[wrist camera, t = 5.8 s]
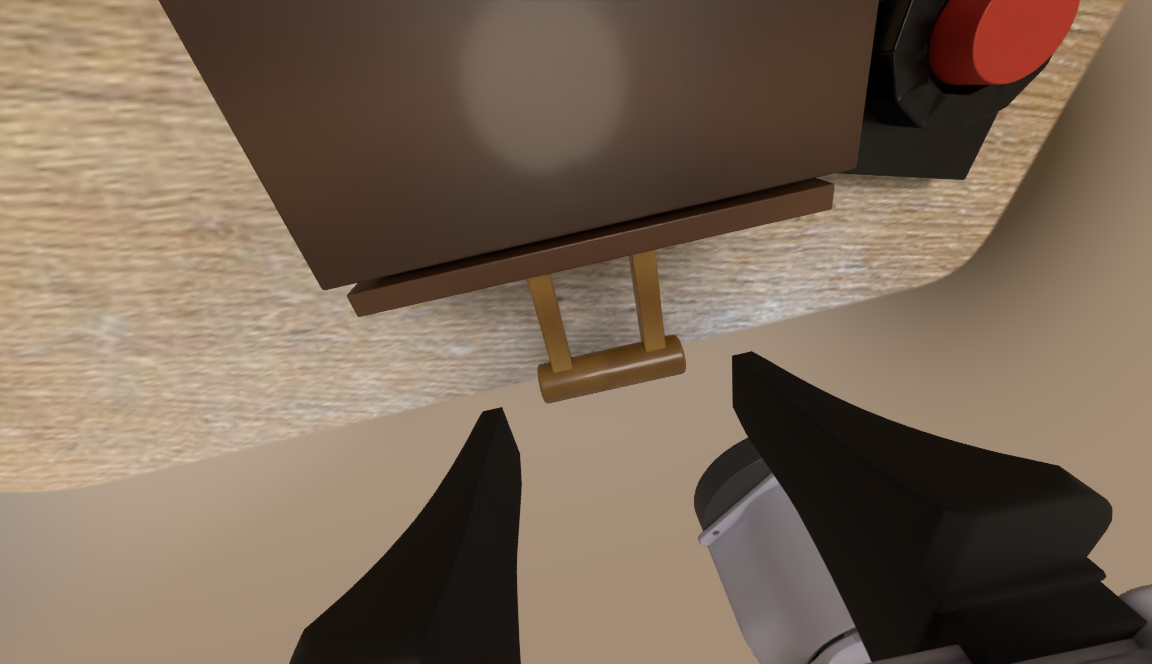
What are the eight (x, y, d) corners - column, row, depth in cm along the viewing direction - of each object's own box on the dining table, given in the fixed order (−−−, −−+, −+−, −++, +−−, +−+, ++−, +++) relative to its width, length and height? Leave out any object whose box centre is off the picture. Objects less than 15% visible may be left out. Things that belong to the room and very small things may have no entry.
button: (990, 88, 16) (1040, 87, 14) (911, 81, 15) (954, 81, 14) (1042, -24, 14) (1105, -38, 12) (957, -34, 14) (1010, -49, 12)
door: (717, 270, 21) (815, 364, 14) (462, 328, 21) (428, 450, 14) (713, 146, 18) (835, 183, 11) (417, 214, 18) (345, 295, 11)
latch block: (933, 173, 20) (1004, 188, 17) (777, 165, 19) (823, 179, 16) (1066, -117, 15) (1199, -169, 12) (864, -147, 14) (954, -211, 11)
